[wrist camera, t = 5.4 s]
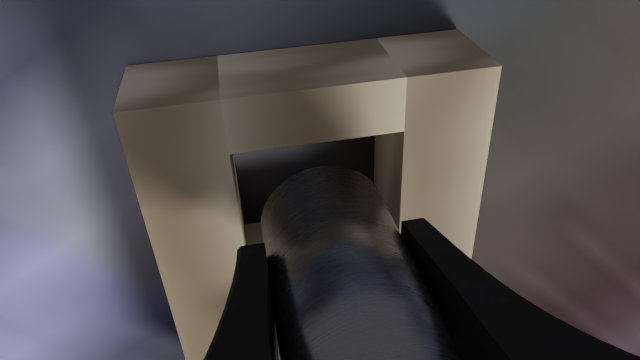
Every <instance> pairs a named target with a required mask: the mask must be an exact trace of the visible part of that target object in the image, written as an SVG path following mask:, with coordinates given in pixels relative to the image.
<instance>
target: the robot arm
mask: <svg viewBox="0 0 640 360" xmlns="http://www.w3.org/2000/svg"><path fill="white" fill-rule="evenodd" d="M401 236H402V238H403V240H404V242H405V244H406V246H407V248H408V250H409V252H410V254H411V256H412V258H413V260H414V262H415V264H416V266H417V268H418V270H419V272H420V274H421V276H422V278H423V280H424V282H425V284H426V286H427V288H428V290H429V292H430V294H431V296H432V298H433V300H434V302H435V304H436V306H437V308H438V310H439V312H440V314H441V316H442V318H443V320H444V322H445V325H446V327H447V329H448V331H449V333H450V335H451V337H452V339H453V341H454V343H455V345H456V347H457V349H458V351H459V353H460V355H461V357H462V359H463V360H640V357H639V356H636V355H634V354H631V353H629V352H626V351H624V350H622V349H620V348H617V347H615V346H613V345H610V344H608V343H606V342H604V341H601V340H599V339H597V338H595V337H593V336H591V335H589V334H587V333H585V332H583V331H581V330H579V329H577V328H575V327H573V326H571V325H569V324H567V323H566V322H564V321H562V320H560V319H558V318H556V317H554V316H553V315H551V314H549V313H547V312H546V311H544V310H542V309H541V308H539V307H537V306H536V305H534V304H533V303H531V302H529V301H528V300H526V299H525V298H523V297H521V296H520V295H518V294H517V293H515V292H514V291H512V290H511V289H510V288H508V287H507V286H505V285H504V284H503V283H501V282H500V281H499V280H497V279H496V278H494V277H493V276H492V275H491V274H489V273H488V272H487V271H485V270H484V269H483V268H482V267H480V266H479V265H478V264H477V263H475V262H474V261H473V260H472V259H471V258H469V257H468V256H467V255H466V254H465V253H463V252H462V251H461V250H460V249H459V248H457V247H456V246H455V245H454V244H453V243H452V242H451V241H449V240H448V239H447V238H446V237H445V236H444V235H443V234H442V233H440V232H439V231H438V230H437V229H436V228H435V227H434V226H433V225H432V224H430V223H429V222H428V221H427V220H426V219H425V218H419V219H412V220H406V221H401ZM204 360H279V352H278V340H277V333H276V326H275V320H274V313H273V306H272V294H271V283H270V275H269V268H268V261H267V255H266V248H265V242H264V243H258V244H251V245H245V246H241V247H240V248H239V249H238V250H237V259H236V266H235V271H234V276H233V280H232V284H231V288H230V291H229V294H228V298H227V301H226V304H225V308H224V311H223V313H222V316H221V319H220V321H219V324H218V327H217V329H216V332H215V334H214V337H213V339H212V342H211V344H210V346H209V349H208V351H207V353H206V355H205V358H204Z"/></svg>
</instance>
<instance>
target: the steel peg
mask: <svg viewBox="0 0 640 360" xmlns="http://www.w3.org/2000/svg"><path fill="white" fill-rule="evenodd" d="M261 231H262V238H263V243H264V242H265V248H266V255H267V261H268V268H269V275H270V283H271V294H272V306H273V313H274V320H275V326H276V333H277V340H278V347H279V354H280V360H463V359H462V357H461V355H460V353H459V351H458V349H457V347H456V345H455V343H454V341H453V339H452V337H451V335H450V333H449V331H448V329H447V327H446V325H445V322H444V320H443V318H442V316H441V314H440V312H439V310H438V308H437V306H436V304H435V302H434V300H433V298H432V296H431V294H430V292H429V290H428V288H427V286H426V284H425V282H424V280H423V278H422V276H421V274H420V272H419V270H418V268H417V266H416V264H415V262H414V260H413V258H412V256H411V254H410V252H409V250H408V248H407V246H406V244H405V242H404V240H403V238H402V236H401V234H400V232H399V230H398V228H397V226H396V224H395V222H394V220H393V218H392V216H391V214H390V212H389V210H388V208H387V206H386V204H385V202H384V200H383V198H382V196H381V194H380V192H379V190H378V188H377V187H376V185H375V184H374V183H373V182H372V181H371V180H370V179H369V178H368V177H366V176H365V175H363V174H362V173H360V172H358V171H356V170H353V169H350V168H347V167H341V166H320V167H314V168H310V169H307V170H304V171H301V172H299V173H297V174H295V175H293V176H291V177H289V178H288V179H287V180H285V181H284V182H282V183H281V184H280V185H279V186H278V187H277V188H276V189H275V190H274V191H273V193H272V194H271V195H270V197H269V198H268V200H267V202H266V204H265V206H264V208H263V212H262V216H261Z"/></svg>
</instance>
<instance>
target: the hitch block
mask: <svg viewBox="0 0 640 360" xmlns="http://www.w3.org/2000/svg"><path fill="white" fill-rule="evenodd" d="M501 68H502V66H501V65H500V64H499V63H498V62H496V61H495V60H494V59H493V58H492V57H490V56H489V55H488V54H487V53H486V52H484V51H483V50H482V49H481V48H480V47H478V46H477V45H476V44H475V43H474V42H472V41H471V40H470V39H469V38H468V37H466V36H465V35H464V34H463V33H462V32H460V31H459V30H458V29H455V30H446V31H437V32H428V33H419V34H410V35H400V36H391V37H382V38H373V39H364V40H355V41H346V42H337V43H328V44H319V45H309V46H300V47H291V48H282V49H273V50H264V51H255V52H246V53H237V54H228V55H218V56H209V57H200V58H191V59H182V60H173V61H164V62H155V63H146V64H137V65H127V66H126V68H125V71H124V74H123V78H122V81H121V84H120V87H119V91H118V94H117V97H116V101H115V104H114V107H113V110H112V115H113V119H114V122H115V125H116V129H117V132H118V135H119V139H120V142H121V145H122V149H123V152H124V155H125V159H126V162H127V165H128V169H129V172H130V175H131V179H132V182H133V185H134V189H135V192H136V195H137V199H138V202H139V205H140V209H141V212H142V215H143V219H144V222H145V225H146V229H147V232H148V235H149V239H150V242H151V245H152V249H153V252H154V255H155V259H156V262H157V265H158V269H159V272H160V275H161V279H162V282H163V285H164V289H165V292H166V295H167V299H168V302H169V305H170V309H171V312H172V315H173V319H174V322H175V325H176V329H177V332H178V335H179V339H180V342H181V345H182V349H183V352H184V355H185V359H186V360H204V358H205V355H206V353H207V351H208V349H209V346H210V344H211V342H212V339H213V337H214V334H215V332H216V329H217V327H218V324H219V321H220V319H221V316H222V313H223V311H224V308H225V304H226V301H227V298H228V294H229V291H230V288H231V284H232V280H233V276H234V271H235V266H236V259H237V250H238V249H239V248H240V247H241V246H245V245H251V244H258V243H263V238H262V231H261V222H259V223H252V224H245V223H244V216H243V210H242V204H241V198H240V192H239V186H238V180H237V173H236V167H235V161H234V155H233V154H238V153H246V152H254V151H261V150H269V149H276V148H284V147H291V146H299V145H306V144H314V143H321V142H329V141H336V140H344V139H351V138H359V137H366V136H374V135H375V156H374V184H375V185H376V187H377V188H378V190H379V192H380V194H381V196H382V198H383V200H384V202H385V204H386V206H387V208H388V210H389V212H390V214H391V216H392V218H393V220H394V222H395V224H396V226H397V228H398V230H399V232H400V234H401V221H406V220H412V219H419V218H425V219H426V220H427V221H428V222H429V223H430V224H432V225H433V226H434V227H435V228H436V229H437V230H438V231H439V232H440V233H442V234H443V235H444V236H445V237H446V238H447V239H448V240H449V241H451V242H452V243H453V244H454V245H455V246H456V247H457V248H459V249H460V250H461V251H462V252H463V253H465V254H466V255H467V256H468V257H469V258H472V252H473V246H474V239H475V233H476V227H477V220H478V214H479V208H480V201H481V195H482V189H483V182H484V176H485V170H486V163H487V157H488V151H489V144H490V138H491V132H492V125H493V119H494V113H495V106H496V100H497V94H498V87H499V81H500V75H501ZM278 352H279V347H278ZM279 360H280V354H279Z"/></svg>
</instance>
